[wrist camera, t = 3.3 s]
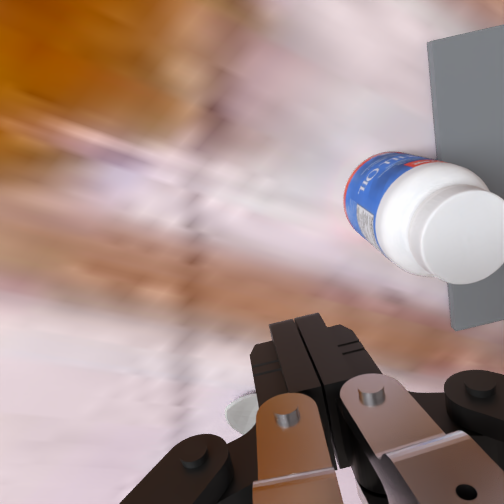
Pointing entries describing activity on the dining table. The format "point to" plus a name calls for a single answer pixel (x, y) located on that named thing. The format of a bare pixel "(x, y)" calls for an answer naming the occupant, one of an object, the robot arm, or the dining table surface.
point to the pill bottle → (427, 216)
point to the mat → (471, 142)
